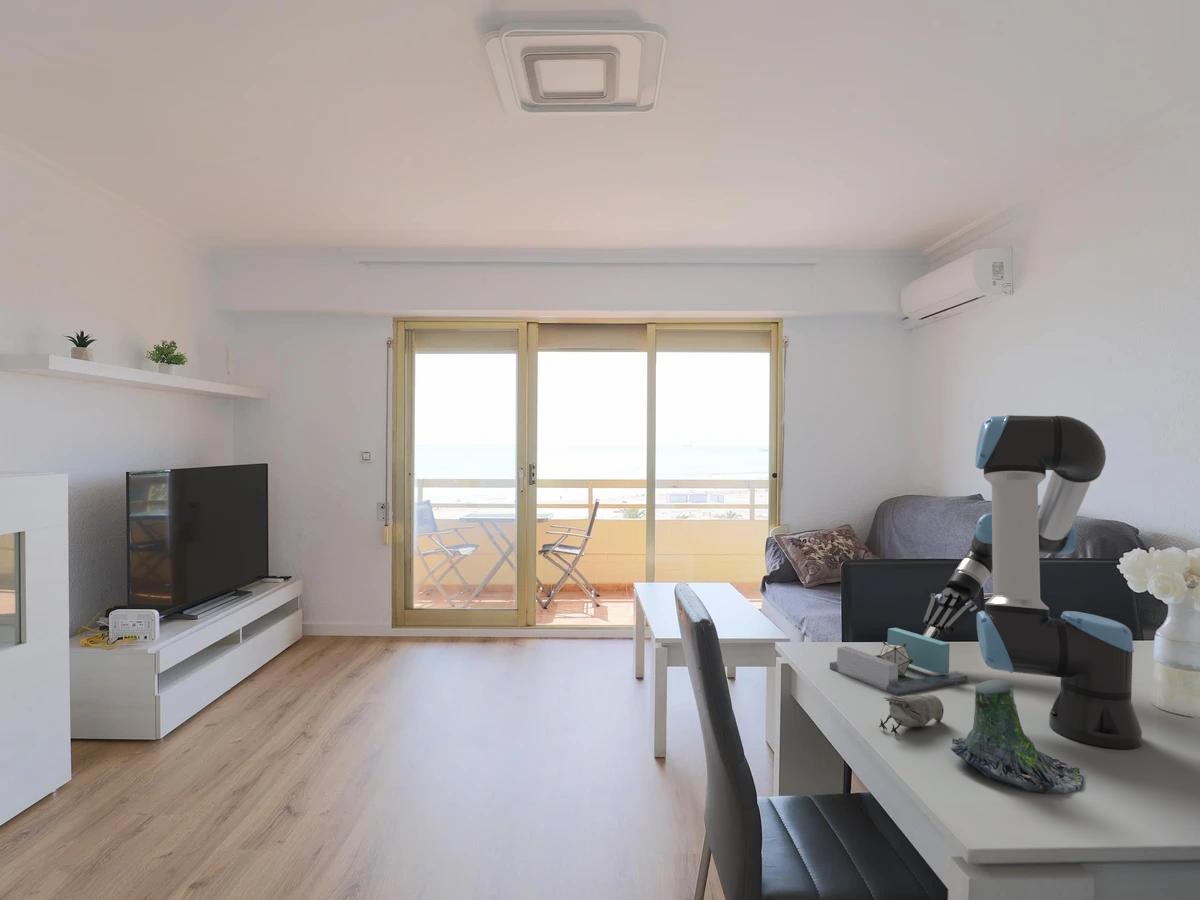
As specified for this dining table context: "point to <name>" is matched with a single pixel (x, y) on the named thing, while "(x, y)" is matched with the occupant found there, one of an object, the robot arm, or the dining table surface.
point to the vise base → (886, 672)
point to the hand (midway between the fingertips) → (922, 649)
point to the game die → (896, 656)
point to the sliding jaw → (922, 650)
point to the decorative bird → (913, 710)
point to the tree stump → (1010, 746)
